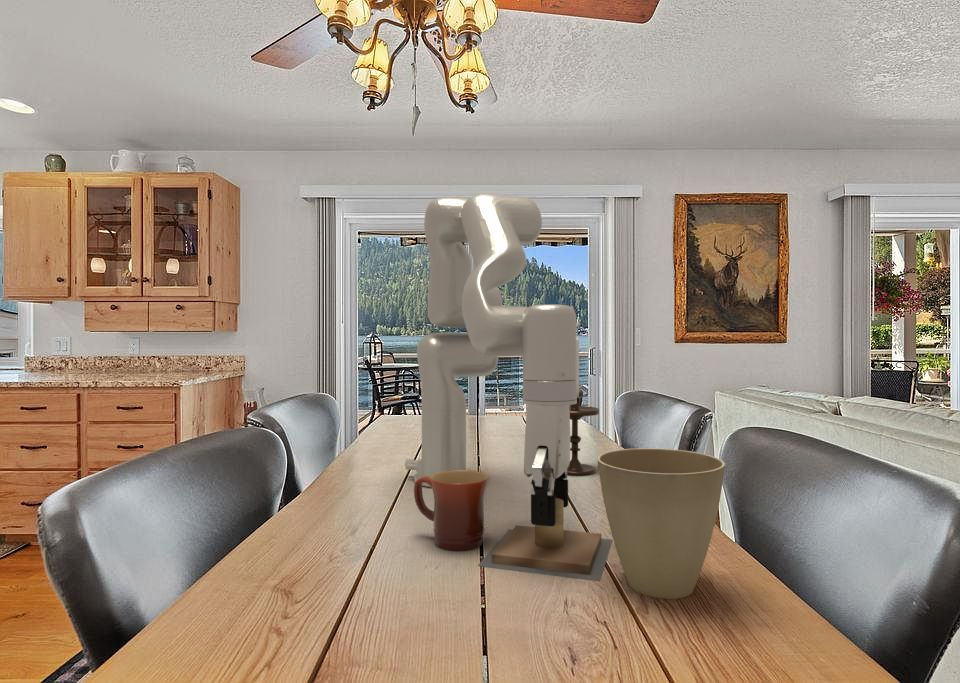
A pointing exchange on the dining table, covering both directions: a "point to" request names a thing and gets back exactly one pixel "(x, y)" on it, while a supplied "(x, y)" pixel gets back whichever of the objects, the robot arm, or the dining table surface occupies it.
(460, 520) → the mug
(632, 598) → the dining table surface
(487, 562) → the mat
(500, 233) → the robot arm
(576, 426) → the candlestick
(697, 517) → the plant pot
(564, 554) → the lid
